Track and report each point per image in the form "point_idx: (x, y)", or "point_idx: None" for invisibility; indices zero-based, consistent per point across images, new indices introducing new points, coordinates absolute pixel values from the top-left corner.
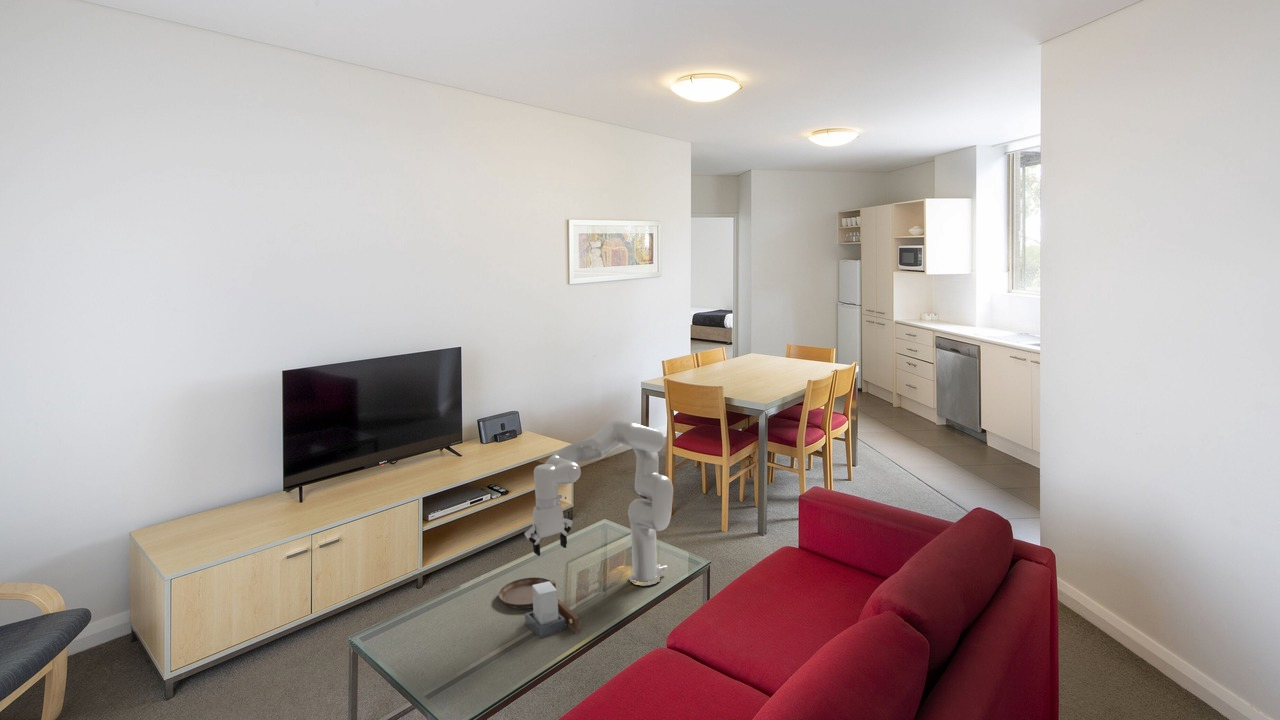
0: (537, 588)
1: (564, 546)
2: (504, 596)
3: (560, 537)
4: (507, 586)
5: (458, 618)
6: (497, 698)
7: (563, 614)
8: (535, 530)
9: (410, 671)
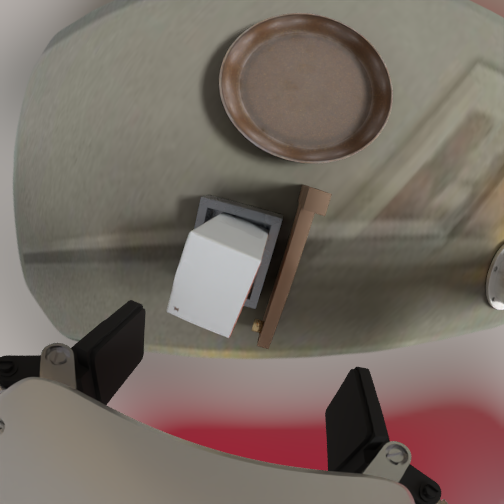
0: (186, 271)
1: (326, 419)
2: (260, 41)
3: (358, 424)
4: (288, 18)
5: (130, 62)
6: (76, 337)
7: (278, 276)
8: (32, 405)
9: (23, 184)
